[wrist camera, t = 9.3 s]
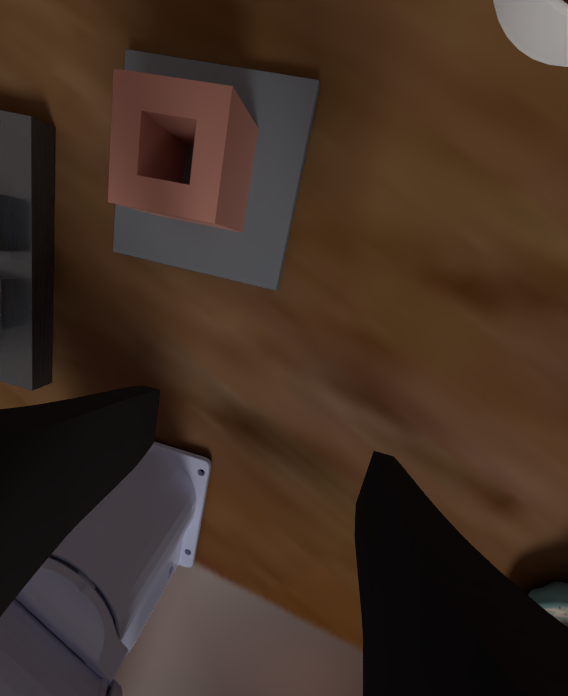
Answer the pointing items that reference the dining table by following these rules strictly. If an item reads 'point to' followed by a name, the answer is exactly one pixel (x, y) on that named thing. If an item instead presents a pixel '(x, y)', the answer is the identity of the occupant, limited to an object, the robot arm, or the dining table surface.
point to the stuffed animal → (553, 600)
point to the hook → (536, 28)
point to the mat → (265, 185)
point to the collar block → (180, 149)
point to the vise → (26, 250)
